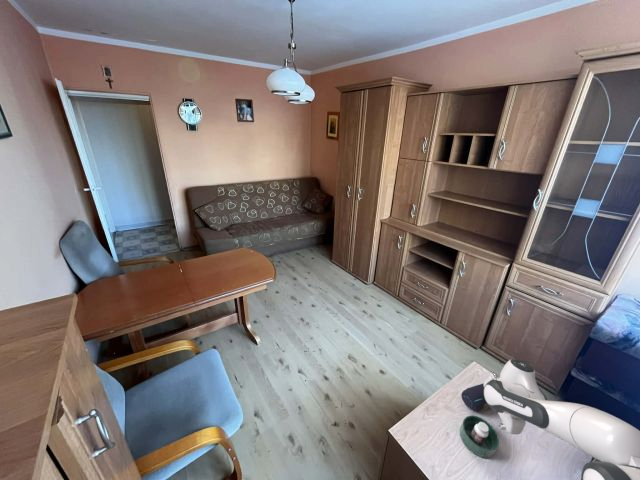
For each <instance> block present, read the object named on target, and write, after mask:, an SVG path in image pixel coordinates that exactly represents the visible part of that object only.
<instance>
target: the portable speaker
mask: <svg viewBox="0 0 640 480" xmlns="http://www.w3.org/2000/svg"><path fill="white" fill-rule="evenodd" d="M460 395H461V399H462V401H463V404H464V405H465V406H466V407H467V408H468V409H469V410H471V411H475V412H480V411H483V410H486V409H489V408H491V407H490V406H489V405H488V404H487V402H486V400H485V398H484V382H483V383H479V384H475V385H473V386H470V387H467V388H465V389H464V390H462V392H461V394H460Z"/></svg>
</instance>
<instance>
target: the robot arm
mask: <svg viewBox="0 0 640 480" xmlns="http://www.w3.org/2000/svg"><path fill="white" fill-rule="evenodd" d="M483 383H484V398H485V400H486V402H487V404H488V405H489V406H490V407H489V408H490V409H491V410H492V411H493V412H495V413H497V415H498V416H499V418H500V419H501V422H500V423H499V424H498V427H499V429H500V430H501V431H507V433H508V434H510V435H517V436H518V435H521V434H522V432H523V431H524V428H525V426H526V422H527V423H530V424H532V425H533V426H536V427H537V428H540V429H541V430H543V431H545V432H546V433H548V434H550V435H553V436H554V437H556V438H558V439H560V440H561V441H564V442H565V443H567V444H569V445H570V446H572V447H574V448H576V449H577V450H580V451H581V452H583V453H585V454H586V455H589V456H590V457H592V458H594V459H596V460H597V461H588V462H587V463H585V464H584V465H583V467H582V471H581V476H580V480H640V430H639V429H638V428H636V427H635V426H633V425H632V424H630V423H628V422H626V421H625V420H622V419H621V418H619V417H616V416H615V415H612V414H610V413H608V412H606V411H604V410H600V409H599V408H596V407H592V406H589V405H586V404H581V403H576V402H570V401H569V402H568V401H559V400H557V401H556V400H549V399H548V397H547V396H546V394H545V392H543V391H542V390H541V388H540V387H539V385H538V383H537V379H536V371H535V368H534V366H532V365H531V364H530V363H529V362H526V361H525V360H521V359H516V358H511V359H509V360H508V361H507V362H505V364H504V366H503V367H502V369H501V371H500V373H499V377H498V375H497V374H496V373H495V372H490V374H489V376H487V377H486V378H485V380H484V382H483Z"/></svg>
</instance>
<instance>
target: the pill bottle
mask: <svg viewBox="0 0 640 480" xmlns="http://www.w3.org/2000/svg"><path fill="white" fill-rule="evenodd" d="M488 431H489V428H488V426H487V425H486V424H485V423H483V422H479V423H478V424H476V425H475V426H474V428H473V430H472V432H471V434H470V438H471V440H472V441H473V442H474V443H475V444H477V445H479V446H481V445H483V443H484V442H485V440H486V438H487V437H488Z"/></svg>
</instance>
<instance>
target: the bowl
mask: <svg viewBox="0 0 640 480" xmlns="http://www.w3.org/2000/svg"><path fill="white" fill-rule="evenodd" d="M479 422H483V423H485V424H486V425H487V426H488V428H489V431H488V437H487V438H486V440H485V442H484V443H483V445H481V446H479V445H477V444H475V443H474V442H473V441H472V440H471V438H470V434H471V432H472V430H473V428H474V426H475V425H476V424H478V423H479ZM458 432H459V437H460V439H461V442H462V443H463V445H464V446H465V447H466V449H468V450H469V451H470V452H471V453H473V454H474V455H475V456H477V457H480V458H486V459H488V458H491V457H492V456H494V454H495V452H496V451H497V449H498V448H499V445H500V440H499V439H500V438H499V435H498V434H497V431H496V430H495V429H494V427H493V425H491V424H490V423H489V422H488V421H487V420H485V419H484V418H482V417H480V416H477V415H467V416H466V417H465V418H464V419H463V421H462V423H461V424H460V427H459V431H458Z"/></svg>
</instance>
